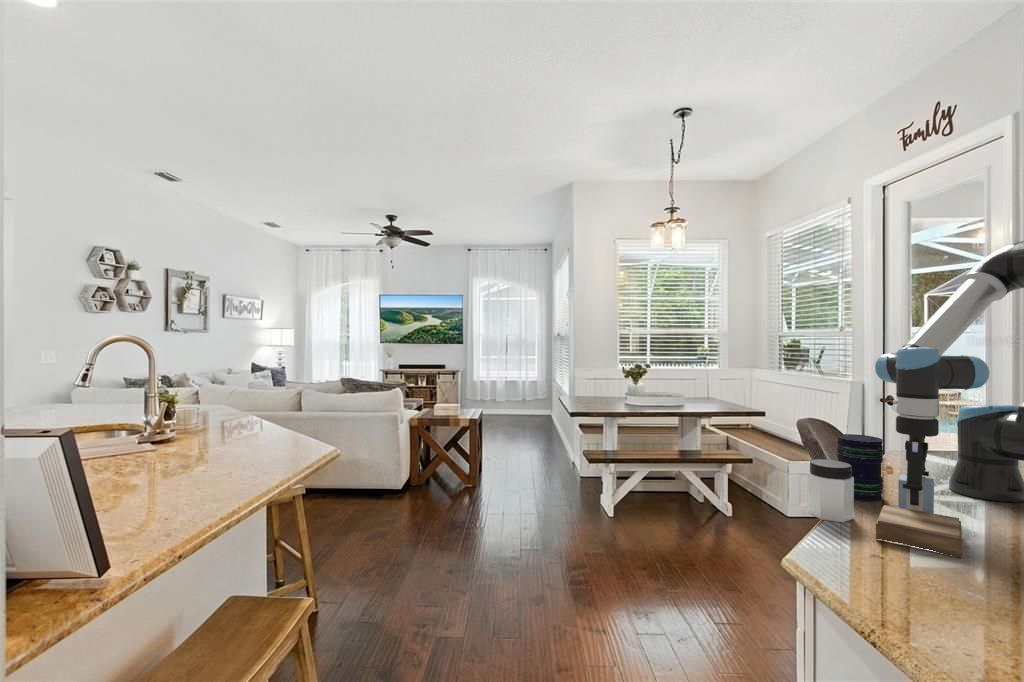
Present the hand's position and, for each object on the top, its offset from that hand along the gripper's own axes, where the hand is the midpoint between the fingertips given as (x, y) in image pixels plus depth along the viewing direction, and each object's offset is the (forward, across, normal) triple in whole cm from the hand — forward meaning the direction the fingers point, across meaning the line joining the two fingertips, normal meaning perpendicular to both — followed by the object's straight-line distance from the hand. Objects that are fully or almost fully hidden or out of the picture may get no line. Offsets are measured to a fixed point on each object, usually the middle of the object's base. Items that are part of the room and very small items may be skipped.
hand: (916, 511), depth 116 cm
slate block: (+2, 0, 0) cm, 2 cm away
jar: (+2, +10, -15) cm, 18 cm away
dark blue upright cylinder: (+2, -12, -12) cm, 17 cm away
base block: (+2, +14, +1) cm, 14 cm away
